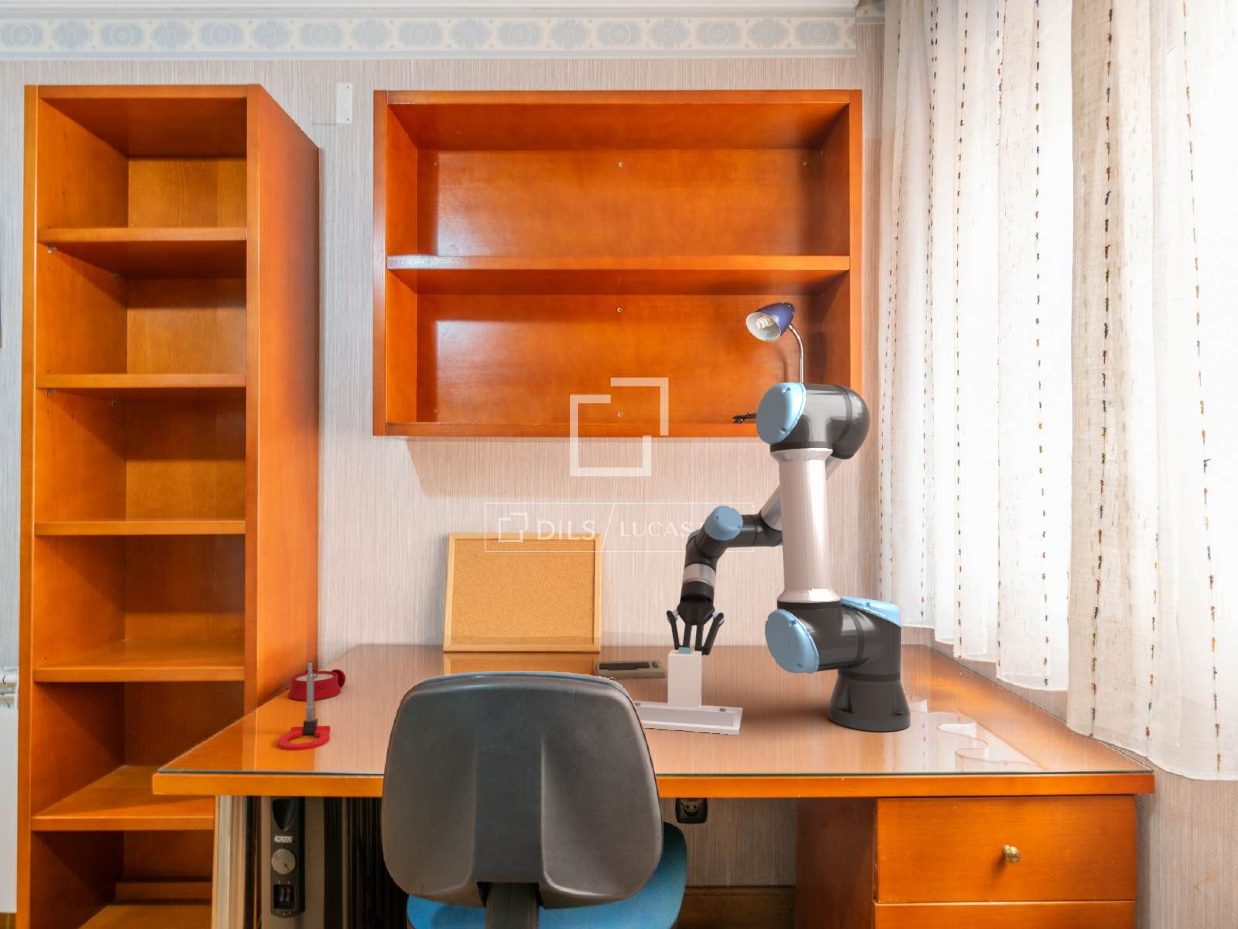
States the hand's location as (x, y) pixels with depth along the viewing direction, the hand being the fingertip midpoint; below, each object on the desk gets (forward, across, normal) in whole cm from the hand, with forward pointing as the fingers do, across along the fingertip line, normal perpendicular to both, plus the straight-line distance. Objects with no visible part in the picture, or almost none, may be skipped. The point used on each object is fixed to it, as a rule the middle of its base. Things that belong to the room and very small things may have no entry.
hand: (688, 681), depth 161 cm
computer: (-11, +17, -18) cm, 27 cm away
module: (+8, 0, +3) cm, 9 cm away
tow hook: (+30, +63, +24) cm, 73 cm away
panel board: (+11, 0, +4) cm, 12 cm away
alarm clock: (+10, +79, +3) cm, 80 cm away
